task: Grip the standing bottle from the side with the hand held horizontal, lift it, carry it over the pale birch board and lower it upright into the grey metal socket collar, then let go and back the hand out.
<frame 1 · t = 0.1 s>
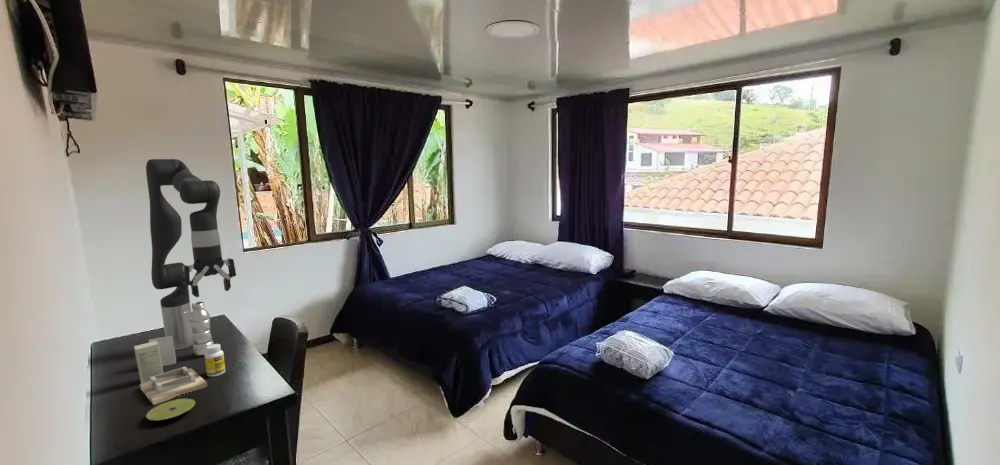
hand: (212, 293, 142), 29 cm above the table, tool pointing down, fingers open, 8 cm apart
socket board: (173, 387, 141), on the table
skincare box: (151, 379, 147), on the table
supplement bottle: (216, 373, 151), on the table
tea bag: (164, 364, 159), on the table
plastic bottle: (204, 354, 167), on the table
green disc with hole: (172, 415, 125), on the table
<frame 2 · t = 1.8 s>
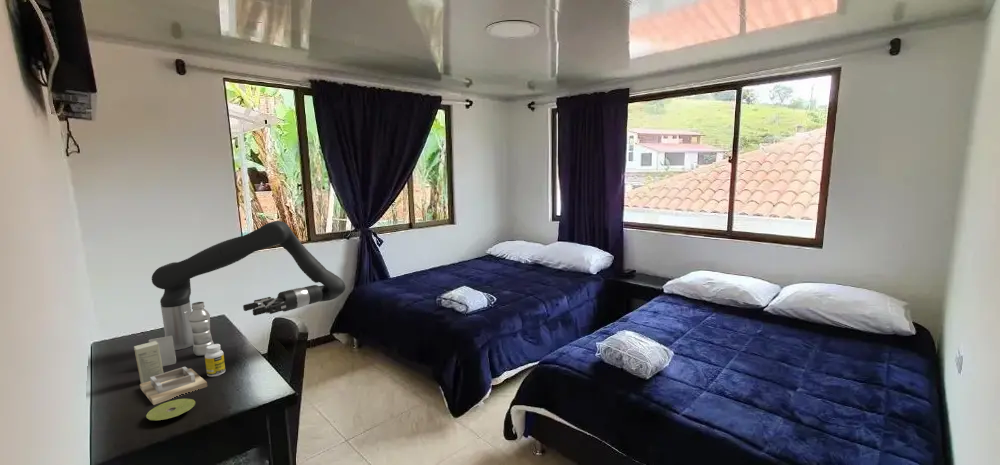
hand: (248, 310, 156), 19 cm above the table, tool horizontal, fingers open, 8 cm apart
nothing on the table moved.
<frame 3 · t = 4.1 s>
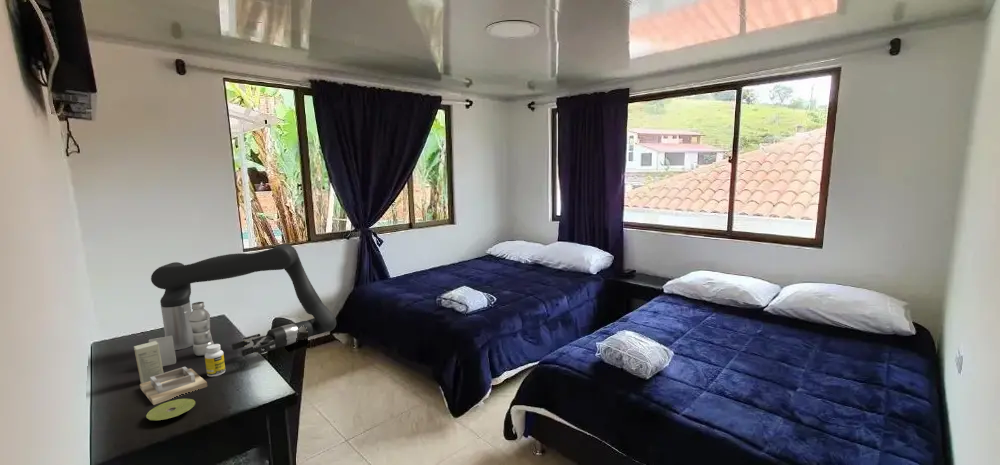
hand: (236, 350, 155), 6 cm above the table, tool horizontal, fingers open, 8 cm apart
nothing on the table moved.
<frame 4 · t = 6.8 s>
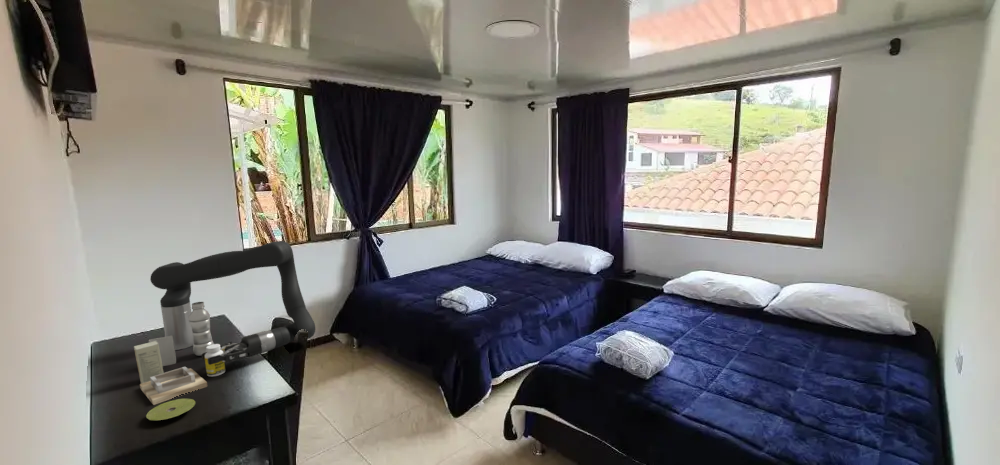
hand: (205, 359, 148), 6 cm above the table, tool horizontal, fingers closed on supplement bottle, 5 cm apart
supplement bottle: (216, 373, 150), on the table, touching gripper
everything else where it was.
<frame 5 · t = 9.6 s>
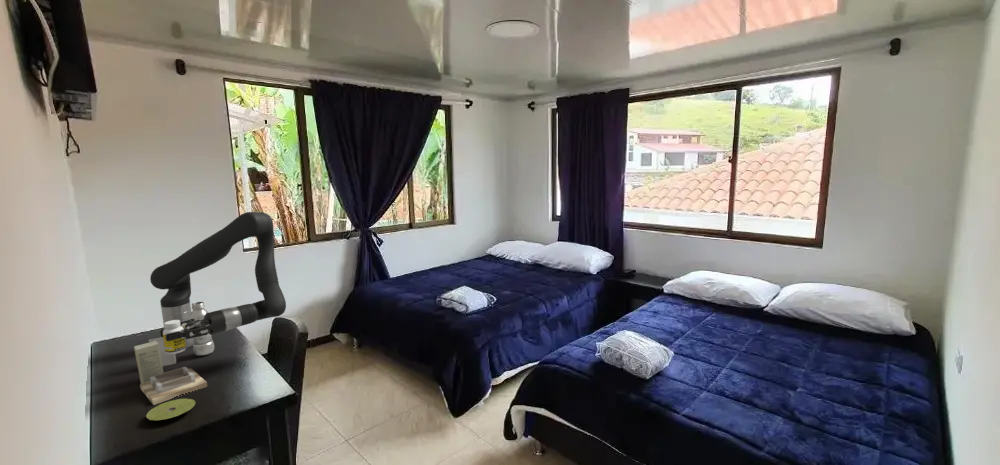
hand: (163, 335, 138), 18 cm above the table, tool horizontal, fingers closed on supplement bottle, 5 cm apart
supplement bottle: (176, 351, 141), point 11 cm above the table, touching gripper
everything else where it was.
when the fingers open (9 cm above the table, at t = 12.8 s): supplement bottle drops 1 cm, resting on socket board.
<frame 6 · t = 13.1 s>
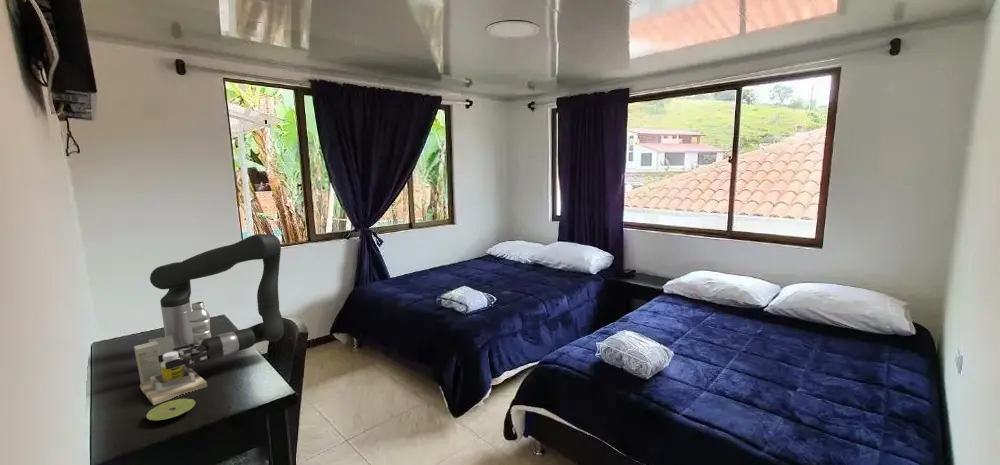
hand: (162, 362, 138), 9 cm above the table, tool horizontal, fingers open, 7 cm apart
supplement bottle: (174, 383, 141), point 1 cm above the table, touching socket board
everything else where it was.
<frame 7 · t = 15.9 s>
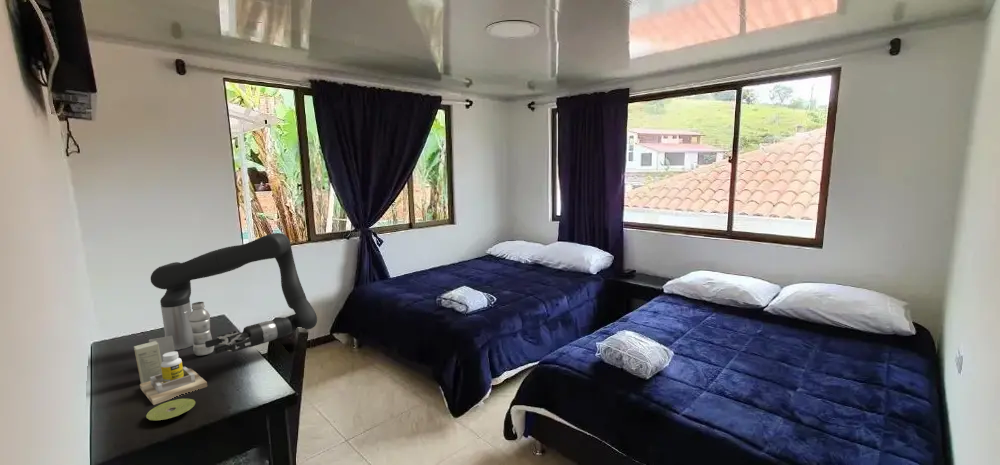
hand: (209, 347, 148), 9 cm above the table, tool horizontal, fingers open, 8 cm apart
nothing on the table moved.
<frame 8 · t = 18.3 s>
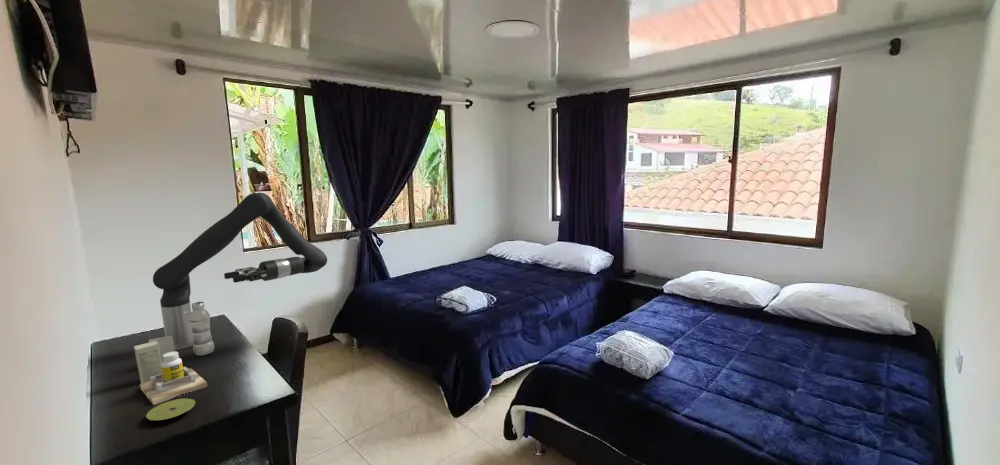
hand: (228, 278, 159), 30 cm above the table, tool horizontal, fingers open, 8 cm apart
nothing on the table moved.
at the end: supplement bottle 0.3 cm off-centre on the socket board, point 1.3 cm above the socket board's base; supplement bottle tilted 0°; the gripper is holding nothing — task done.
